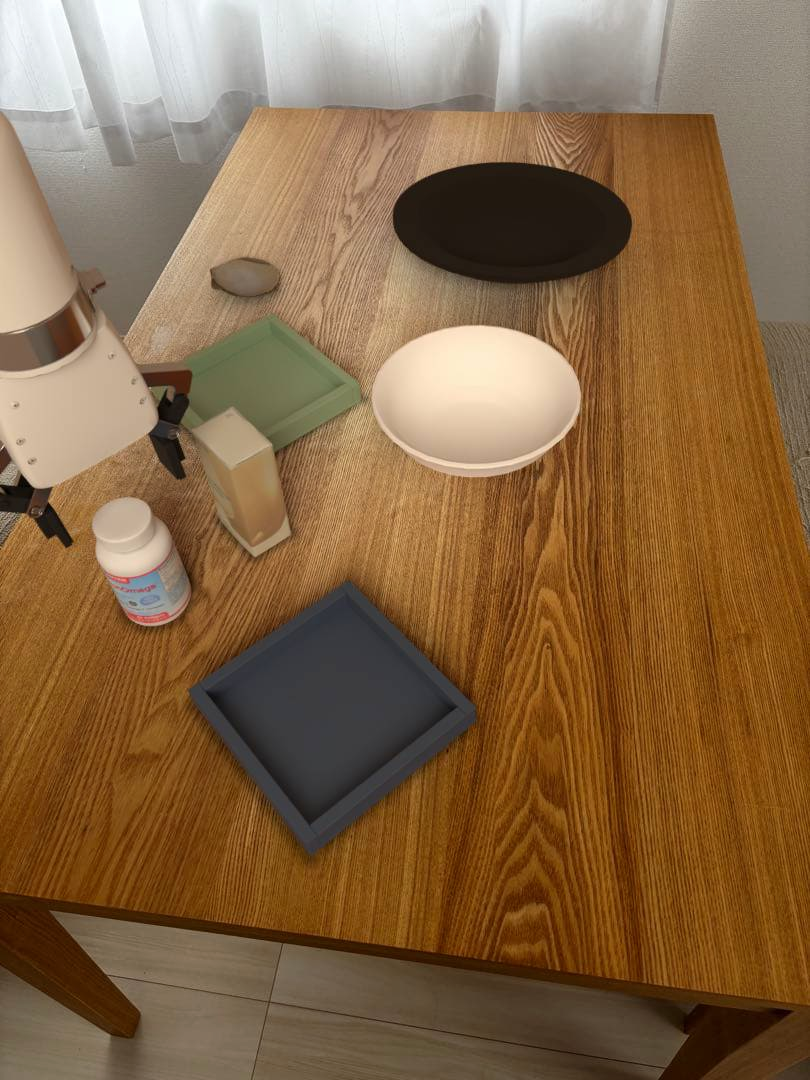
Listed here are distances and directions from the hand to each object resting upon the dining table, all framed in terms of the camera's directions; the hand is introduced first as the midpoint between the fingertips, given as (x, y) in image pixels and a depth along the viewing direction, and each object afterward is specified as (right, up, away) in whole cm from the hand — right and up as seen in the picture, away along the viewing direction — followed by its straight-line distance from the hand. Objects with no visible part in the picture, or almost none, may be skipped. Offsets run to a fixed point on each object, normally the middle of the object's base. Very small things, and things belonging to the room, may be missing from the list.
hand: (119, 501), depth 66 cm
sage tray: (+6, +12, +26) cm, 29 cm away
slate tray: (+16, -17, +3) cm, 23 cm away
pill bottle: (0, -8, +10) cm, 13 cm away
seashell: (+3, +27, +38) cm, 47 cm away
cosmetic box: (+8, -2, +15) cm, 17 cm away
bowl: (+29, +7, +21) cm, 36 cm away
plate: (+34, +31, +40) cm, 61 cm away
